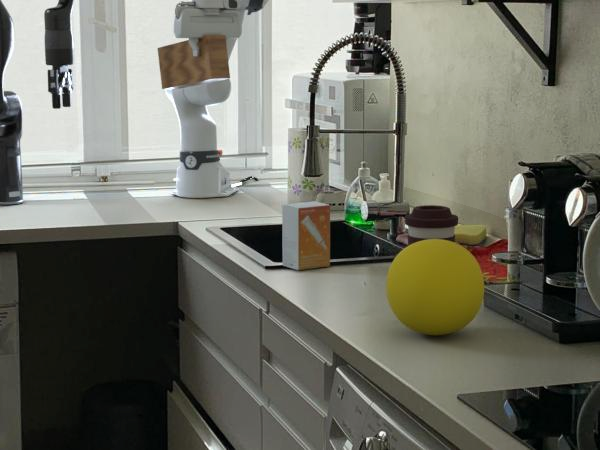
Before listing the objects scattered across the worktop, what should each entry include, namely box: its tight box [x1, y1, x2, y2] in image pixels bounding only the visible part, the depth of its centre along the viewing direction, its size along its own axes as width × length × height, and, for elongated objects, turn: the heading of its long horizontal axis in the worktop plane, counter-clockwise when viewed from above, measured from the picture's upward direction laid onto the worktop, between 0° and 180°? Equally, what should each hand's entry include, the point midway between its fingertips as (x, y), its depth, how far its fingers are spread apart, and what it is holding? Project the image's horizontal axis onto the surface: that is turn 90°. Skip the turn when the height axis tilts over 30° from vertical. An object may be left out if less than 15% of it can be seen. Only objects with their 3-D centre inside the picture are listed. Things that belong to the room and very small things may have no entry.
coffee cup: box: [404, 204, 459, 246], centre depth 197 cm, size 10×10×15 cm
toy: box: [385, 239, 485, 336], centre depth 164 cm, size 15×15×15 cm
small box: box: [281, 200, 331, 271], centre depth 216 cm, size 8×6×13 cm
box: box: [157, 35, 231, 90], centre depth 278 cm, size 22×6×11 cm, turn 43°
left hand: (62, 107), depth 285 cm, fingers open, 8 cm apart
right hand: (208, 56), depth 273 cm, fingers closed on box, 6 cm apart
